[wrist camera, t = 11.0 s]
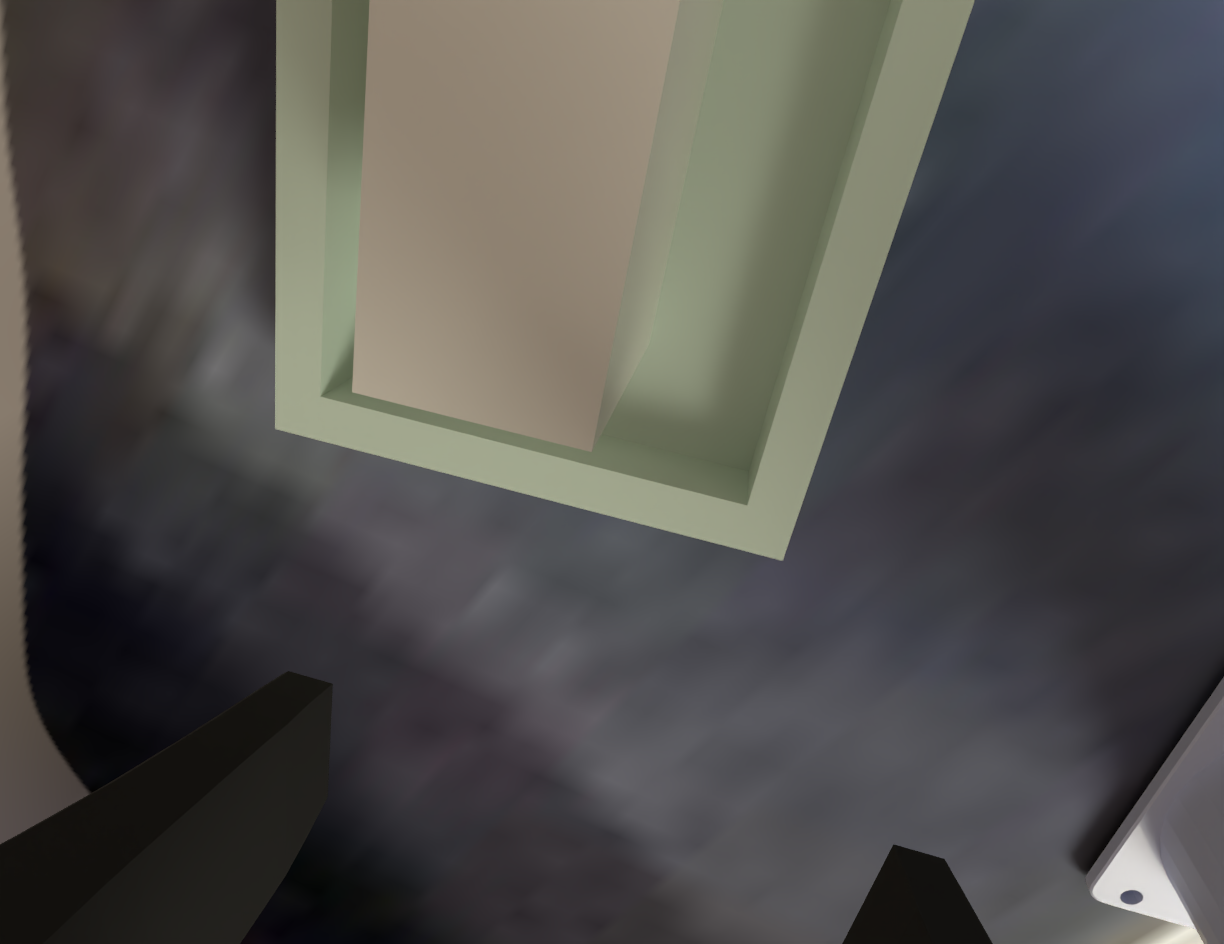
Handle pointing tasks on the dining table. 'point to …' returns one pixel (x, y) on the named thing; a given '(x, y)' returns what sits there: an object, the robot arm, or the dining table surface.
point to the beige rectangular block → (521, 202)
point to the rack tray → (694, 275)
